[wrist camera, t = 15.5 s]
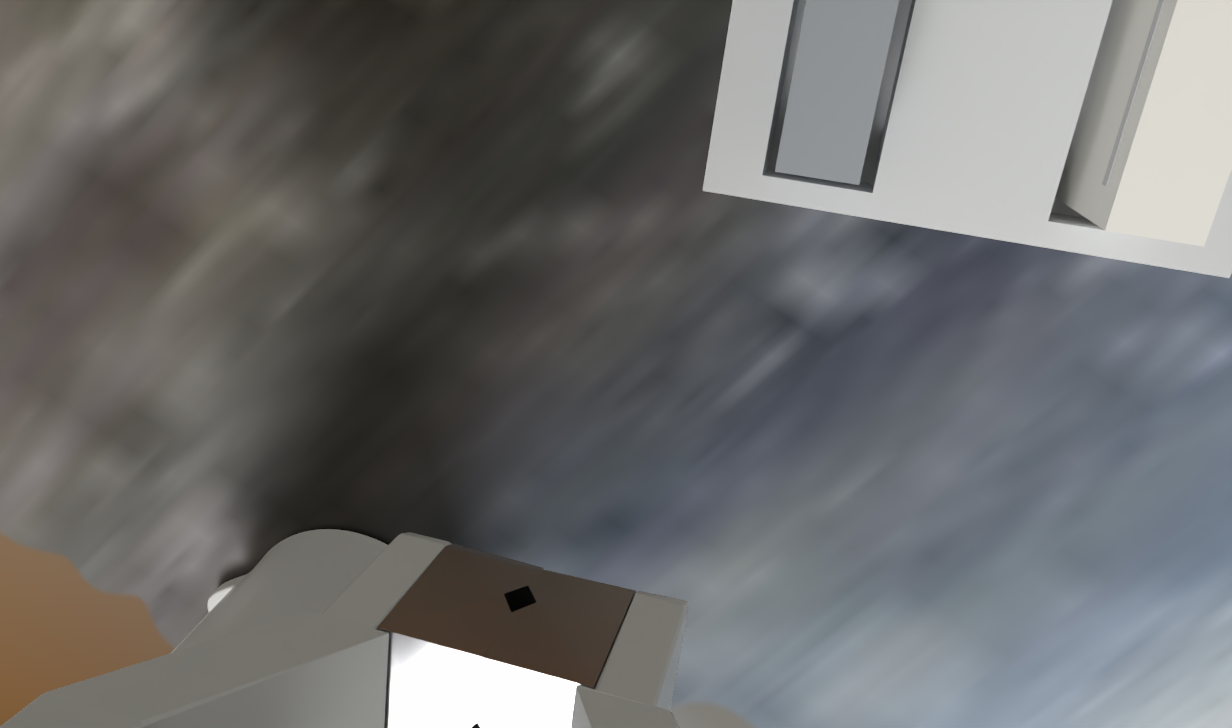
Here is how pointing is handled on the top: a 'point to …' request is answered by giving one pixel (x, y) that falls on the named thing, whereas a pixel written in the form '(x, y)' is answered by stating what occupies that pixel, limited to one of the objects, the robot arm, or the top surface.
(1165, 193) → the panel
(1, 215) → the top surface
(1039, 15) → the rack
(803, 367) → the top surface
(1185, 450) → the top surface
